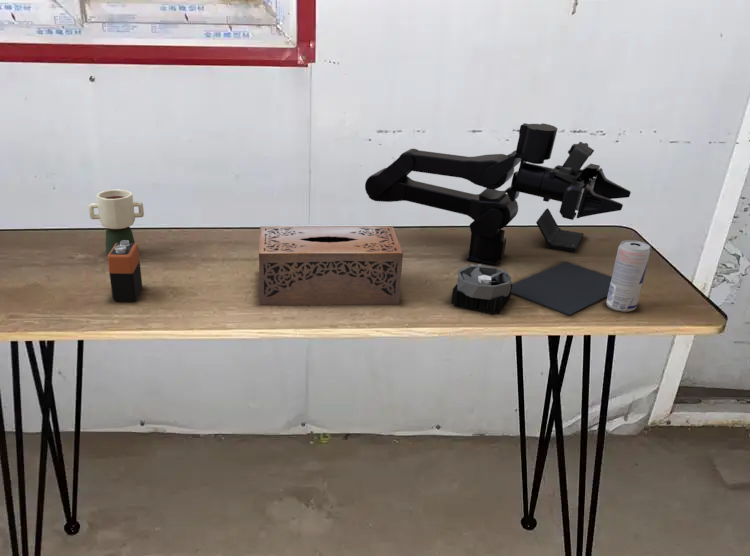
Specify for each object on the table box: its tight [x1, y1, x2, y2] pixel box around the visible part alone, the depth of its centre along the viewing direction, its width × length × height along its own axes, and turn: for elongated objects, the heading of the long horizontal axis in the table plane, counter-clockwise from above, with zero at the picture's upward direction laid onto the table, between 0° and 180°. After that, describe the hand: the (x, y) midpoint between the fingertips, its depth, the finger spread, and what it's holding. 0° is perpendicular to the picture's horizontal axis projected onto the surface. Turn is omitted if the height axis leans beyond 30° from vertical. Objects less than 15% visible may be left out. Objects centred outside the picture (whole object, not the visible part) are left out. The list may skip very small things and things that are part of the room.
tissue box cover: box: [258, 225, 404, 306], centre depth 147 cm, size 26×14×10 cm, turn 92°
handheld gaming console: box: [535, 207, 585, 253], centre depth 172 cm, size 12×7×10 cm
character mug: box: [88, 188, 145, 255], centre depth 160 cm, size 11×7×13 cm, turn 100°
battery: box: [107, 240, 143, 302], centre depth 143 cm, size 4×7×10 cm, turn 179°
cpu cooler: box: [450, 263, 513, 315], centre depth 143 cm, size 10×6×10 cm
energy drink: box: [605, 239, 651, 313], centre depth 141 cm, size 5×5×12 cm
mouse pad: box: [511, 261, 612, 317], centre depth 151 cm, size 15×22×1 cm
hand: (626, 200), depth 145 cm, fingers open, 9 cm apart
